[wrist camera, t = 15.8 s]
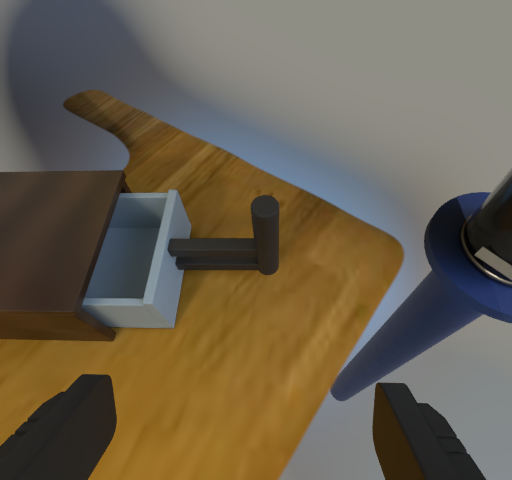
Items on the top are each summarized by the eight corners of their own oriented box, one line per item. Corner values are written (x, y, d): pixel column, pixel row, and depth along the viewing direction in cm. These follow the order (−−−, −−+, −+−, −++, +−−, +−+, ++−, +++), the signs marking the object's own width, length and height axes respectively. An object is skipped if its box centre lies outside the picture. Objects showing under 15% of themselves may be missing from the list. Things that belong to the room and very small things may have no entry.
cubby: (150, 218, 36) (123, 170, 30) (118, 341, 29) (72, 312, 22) (18, 219, 37) (-36, 172, 31) (-45, 338, 30) (-134, 309, 23)
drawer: (278, 225, 34) (278, 150, 25) (278, 330, 28) (279, 278, 19) (69, 226, 36) (1, 155, 27) (28, 325, 30) (-78, 275, 21)
